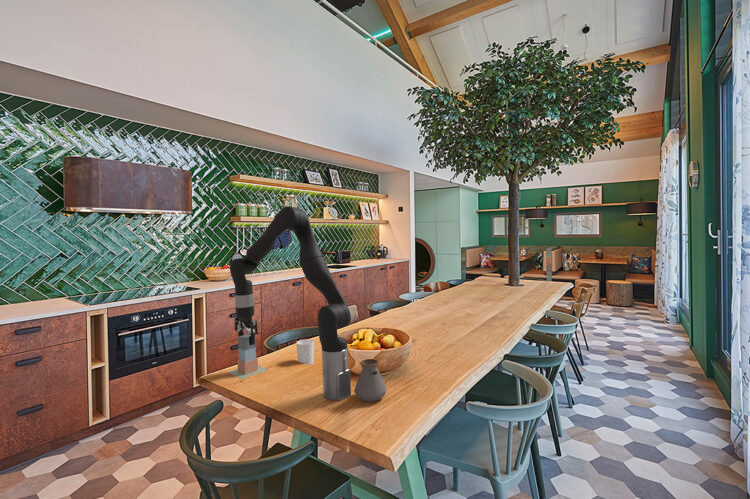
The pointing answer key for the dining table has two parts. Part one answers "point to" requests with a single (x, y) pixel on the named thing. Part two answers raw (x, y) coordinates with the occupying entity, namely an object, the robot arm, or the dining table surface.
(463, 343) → the dining table surface
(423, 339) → the dining table surface
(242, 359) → the blue brick
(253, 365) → the base brick
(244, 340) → the slate brick
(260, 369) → the build plate
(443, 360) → the dining table surface
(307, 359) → the white cup
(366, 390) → the coffee pot
